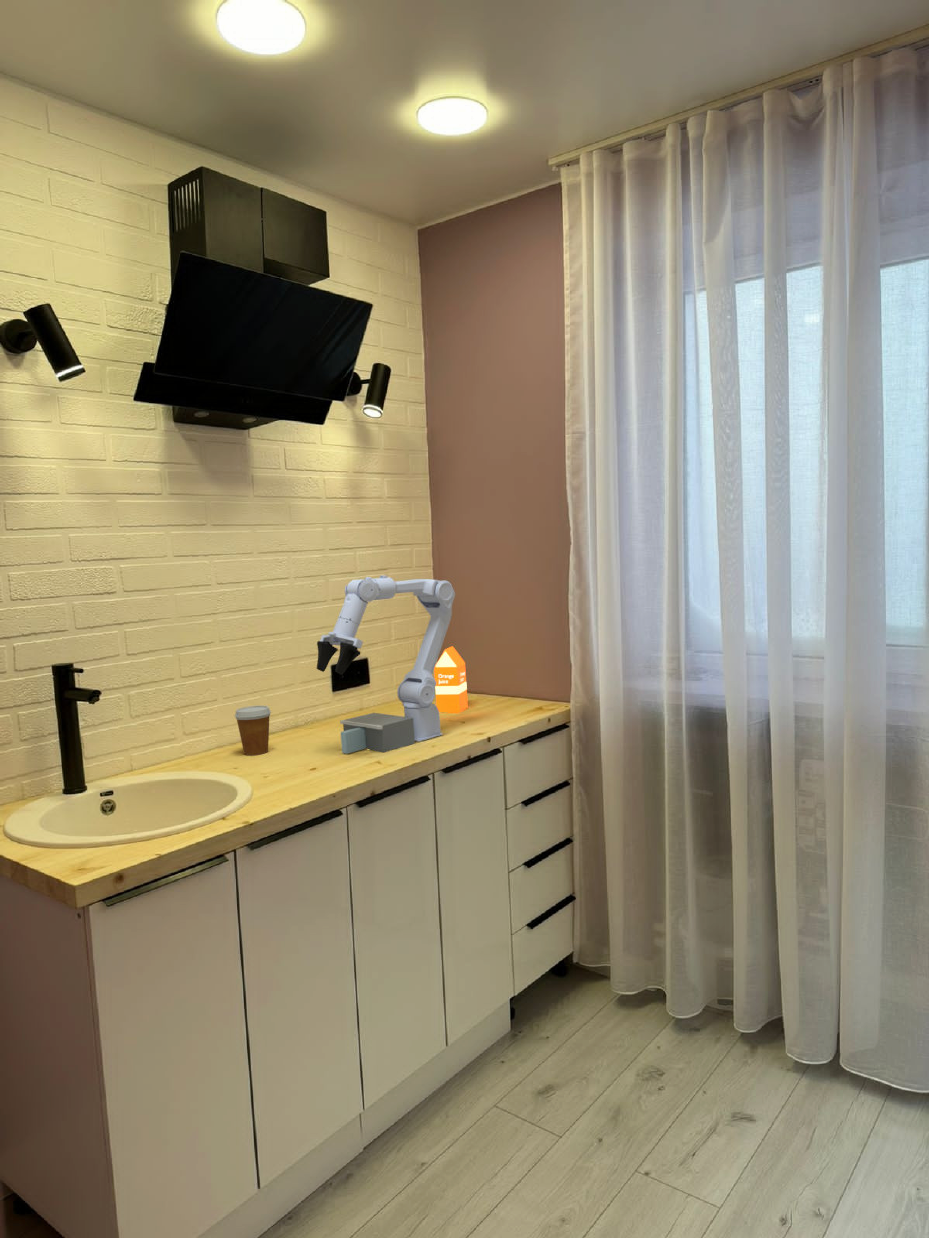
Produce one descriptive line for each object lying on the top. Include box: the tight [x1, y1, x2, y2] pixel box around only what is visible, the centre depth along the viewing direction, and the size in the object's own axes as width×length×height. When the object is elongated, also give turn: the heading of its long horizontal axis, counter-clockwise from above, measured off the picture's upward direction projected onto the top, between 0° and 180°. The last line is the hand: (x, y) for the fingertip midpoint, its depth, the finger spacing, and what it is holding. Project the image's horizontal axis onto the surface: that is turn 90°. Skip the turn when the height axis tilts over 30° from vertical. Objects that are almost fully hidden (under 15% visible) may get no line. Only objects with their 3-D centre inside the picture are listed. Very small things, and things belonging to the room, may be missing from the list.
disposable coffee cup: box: [234, 705, 272, 756], centre depth 234 cm, size 10×10×12 cm
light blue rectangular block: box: [340, 727, 367, 754], centre depth 231 cm, size 14×2×6 cm, turn 137°
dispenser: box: [339, 712, 416, 753], centre depth 234 cm, size 12×16×7 cm
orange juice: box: [433, 645, 469, 714], centre depth 276 cm, size 8×9×20 cm
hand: (329, 671), depth 220 cm, fingers open, 7 cm apart
